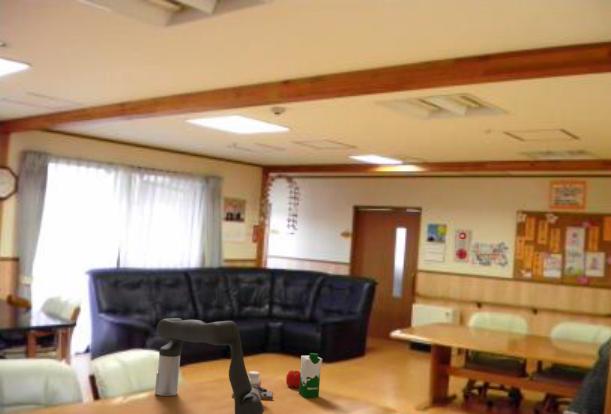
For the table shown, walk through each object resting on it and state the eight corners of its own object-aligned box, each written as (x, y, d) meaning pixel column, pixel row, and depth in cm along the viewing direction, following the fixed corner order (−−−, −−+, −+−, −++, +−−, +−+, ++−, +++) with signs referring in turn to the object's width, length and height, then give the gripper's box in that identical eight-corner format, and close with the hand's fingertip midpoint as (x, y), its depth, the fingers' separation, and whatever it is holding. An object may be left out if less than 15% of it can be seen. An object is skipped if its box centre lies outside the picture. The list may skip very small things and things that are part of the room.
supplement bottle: (256, 405, 262) (259, 375, 262) (242, 402, 263) (244, 373, 263) (261, 400, 268) (263, 371, 269) (246, 398, 270) (249, 370, 270)
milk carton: (304, 398, 277) (307, 355, 278) (296, 393, 285) (299, 350, 286) (321, 397, 281) (324, 354, 281) (312, 392, 289) (315, 350, 289)
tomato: (284, 384, 300) (285, 369, 300) (301, 384, 302) (302, 369, 302) (287, 389, 291) (289, 373, 291) (305, 389, 293) (307, 374, 293)
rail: (232, 397, 270) (232, 393, 270) (232, 396, 271) (232, 392, 271) (272, 400, 271) (272, 396, 271) (272, 399, 272) (272, 395, 272)
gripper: (268, 389, 239) (268, 378, 257) (235, 386, 239) (237, 376, 256) (266, 408, 239) (267, 395, 256) (233, 406, 238) (236, 393, 256)
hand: (252, 386), depth 256 cm, fingers closed
